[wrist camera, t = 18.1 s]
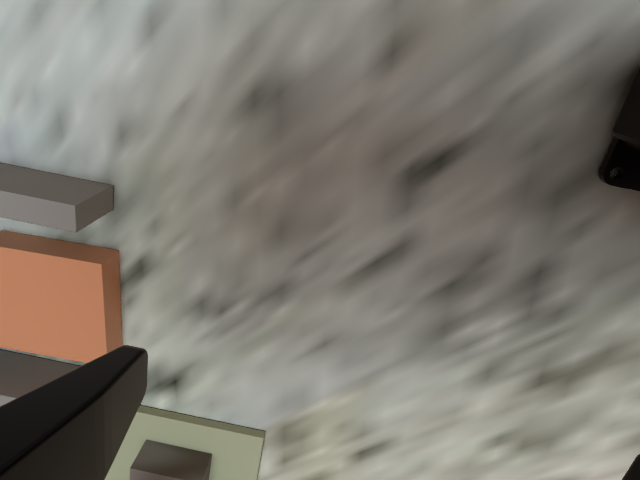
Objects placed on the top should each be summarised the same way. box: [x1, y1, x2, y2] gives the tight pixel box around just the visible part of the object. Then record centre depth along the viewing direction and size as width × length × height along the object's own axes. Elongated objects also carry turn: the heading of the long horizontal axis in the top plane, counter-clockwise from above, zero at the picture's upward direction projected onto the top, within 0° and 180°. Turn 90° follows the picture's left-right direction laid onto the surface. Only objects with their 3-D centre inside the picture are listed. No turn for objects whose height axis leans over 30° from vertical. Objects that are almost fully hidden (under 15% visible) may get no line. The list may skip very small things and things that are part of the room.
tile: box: [0, 230, 123, 363], centre depth 23 cm, size 6×6×2 cm
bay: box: [0, 163, 113, 406], centre depth 22 cm, size 8×12×3 cm, turn 170°
